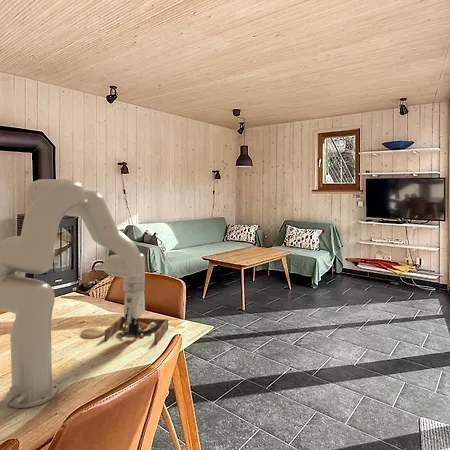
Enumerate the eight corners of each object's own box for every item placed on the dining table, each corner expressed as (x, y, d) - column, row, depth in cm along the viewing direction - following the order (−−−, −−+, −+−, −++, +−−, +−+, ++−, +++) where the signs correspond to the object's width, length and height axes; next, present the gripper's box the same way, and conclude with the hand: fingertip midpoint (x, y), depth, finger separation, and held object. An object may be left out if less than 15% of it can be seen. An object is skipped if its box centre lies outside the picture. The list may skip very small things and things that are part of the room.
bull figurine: (152, 327, 137) (158, 319, 145) (117, 325, 138) (125, 317, 146) (152, 338, 137) (157, 330, 146) (117, 336, 138) (125, 328, 147)
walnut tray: (156, 344, 132) (156, 334, 131) (104, 340, 134) (104, 330, 133) (168, 329, 147) (168, 319, 147) (121, 325, 149) (121, 316, 149)
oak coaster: (99, 339, 135) (99, 336, 135) (76, 337, 136) (76, 335, 136) (109, 330, 144) (109, 328, 144) (88, 328, 145) (88, 326, 145)
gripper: (136, 291, 127) (136, 342, 128) (150, 282, 142) (149, 327, 143) (116, 290, 128) (115, 341, 129) (131, 281, 142) (131, 326, 144)
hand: (133, 334), depth 136 cm, fingers closed
